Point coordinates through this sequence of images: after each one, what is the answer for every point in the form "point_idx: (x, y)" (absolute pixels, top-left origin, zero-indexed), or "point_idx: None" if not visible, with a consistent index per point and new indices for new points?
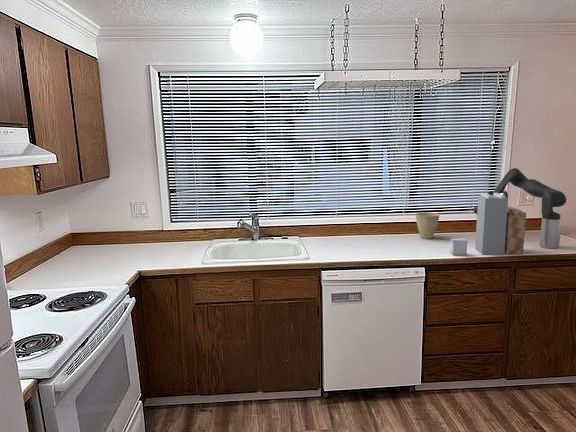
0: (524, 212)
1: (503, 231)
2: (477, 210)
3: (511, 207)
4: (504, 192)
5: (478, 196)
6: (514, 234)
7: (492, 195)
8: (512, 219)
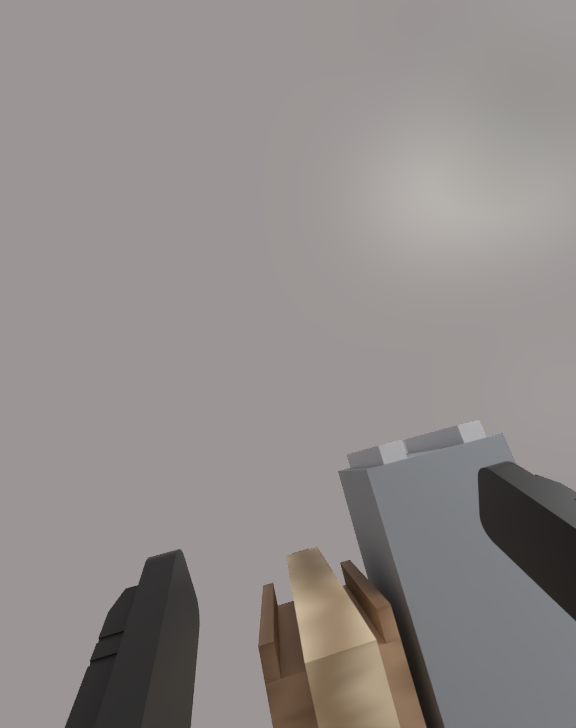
0: (263, 592)
1: None
2: None
3: (307, 590)
4: (179, 613)
5: (501, 439)
6: None
7: (414, 456)
8: None
